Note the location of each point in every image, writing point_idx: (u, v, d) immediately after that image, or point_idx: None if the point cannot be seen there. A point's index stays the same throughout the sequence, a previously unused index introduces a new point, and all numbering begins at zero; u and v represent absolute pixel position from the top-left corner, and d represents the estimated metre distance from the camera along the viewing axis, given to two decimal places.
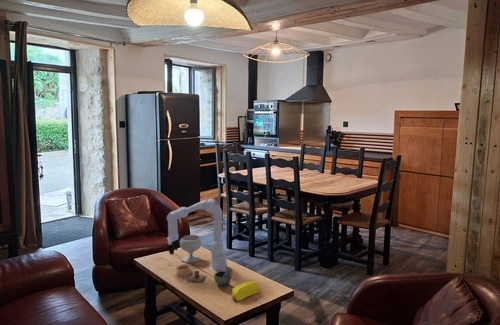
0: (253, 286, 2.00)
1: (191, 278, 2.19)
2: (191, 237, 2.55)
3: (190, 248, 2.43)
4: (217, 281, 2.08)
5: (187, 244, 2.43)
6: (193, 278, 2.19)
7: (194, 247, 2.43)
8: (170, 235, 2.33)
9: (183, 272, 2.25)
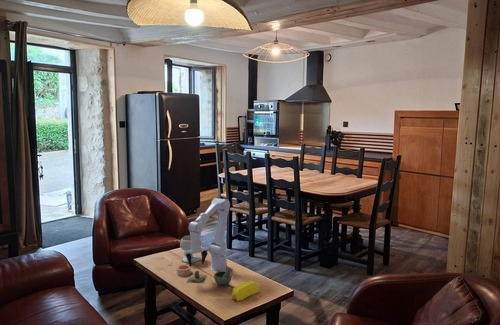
0: (253, 286, 2.01)
1: (191, 278, 2.19)
2: None
3: (190, 248, 2.43)
4: (217, 281, 2.08)
5: (187, 244, 2.43)
6: (193, 278, 2.19)
7: None
8: (191, 246, 2.17)
9: (183, 272, 2.25)
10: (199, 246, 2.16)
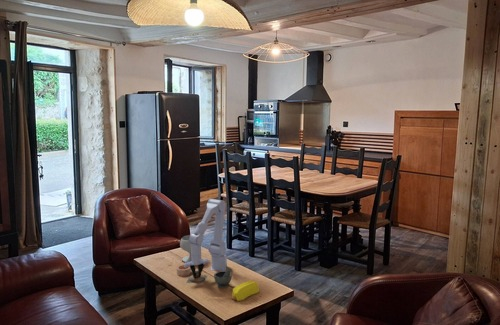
0: (253, 286, 2.01)
1: (191, 278, 2.19)
2: None
3: (190, 248, 2.43)
4: (217, 281, 2.08)
5: (187, 244, 2.43)
6: (193, 278, 2.19)
7: None
8: (191, 257, 2.18)
9: (183, 272, 2.25)
10: (199, 258, 2.17)
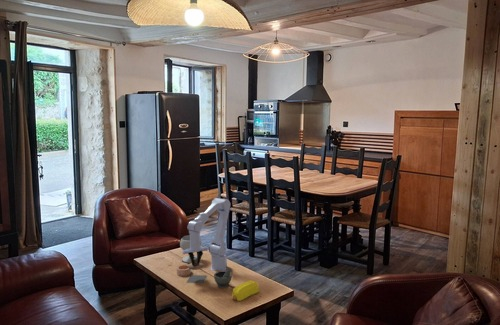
0: (254, 286, 2.01)
1: (190, 266, 2.18)
2: None
3: None
4: (217, 281, 2.08)
5: (187, 244, 2.43)
6: (192, 266, 2.18)
7: None
8: (190, 245, 2.18)
9: (183, 272, 2.25)
10: (198, 245, 2.16)
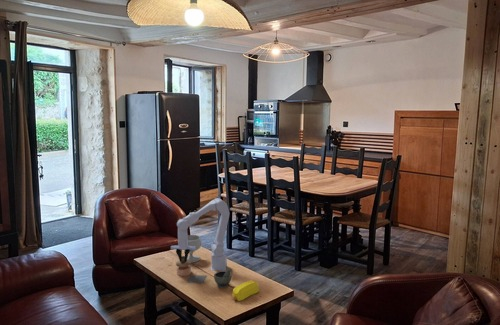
0: (254, 286, 2.01)
1: (177, 262, 2.28)
2: (191, 237, 2.55)
3: None
4: (217, 281, 2.08)
5: None
6: (179, 262, 2.27)
7: None
8: None
9: (183, 272, 2.25)
10: (183, 243, 2.24)
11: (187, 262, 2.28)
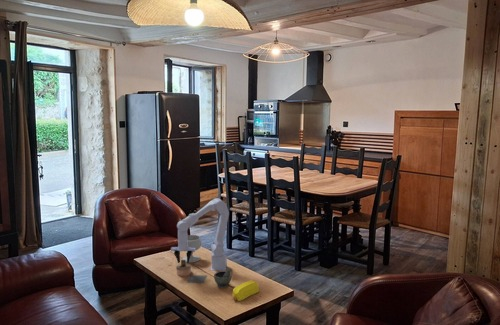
0: (254, 286, 2.01)
1: (178, 266, 2.28)
2: (191, 237, 2.55)
3: None
4: (217, 281, 2.08)
5: None
6: (179, 266, 2.28)
7: (194, 247, 2.43)
8: None
9: (183, 272, 2.25)
10: (183, 245, 2.24)
11: (187, 265, 2.28)
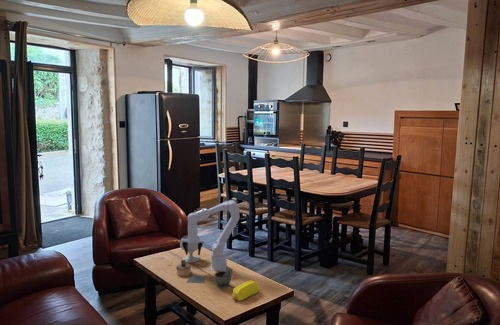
0: (254, 286, 2.01)
1: (178, 266, 2.28)
2: None
3: (190, 248, 2.43)
4: (217, 281, 2.08)
5: None
6: (179, 266, 2.28)
7: (194, 247, 2.43)
8: None
9: (183, 272, 2.25)
10: (193, 237, 2.28)
11: (187, 265, 2.28)
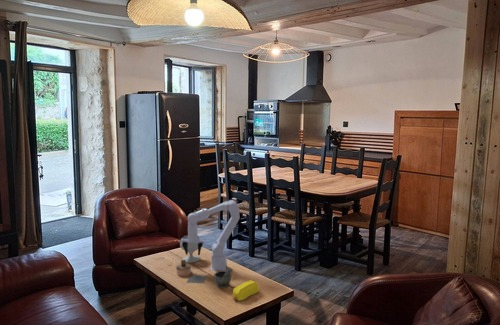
0: (254, 286, 2.01)
1: (178, 266, 2.28)
2: None
3: (190, 248, 2.43)
4: (217, 281, 2.08)
5: None
6: (179, 266, 2.28)
7: (194, 247, 2.43)
8: None
9: (183, 272, 2.25)
10: (193, 237, 2.28)
11: (187, 265, 2.28)
